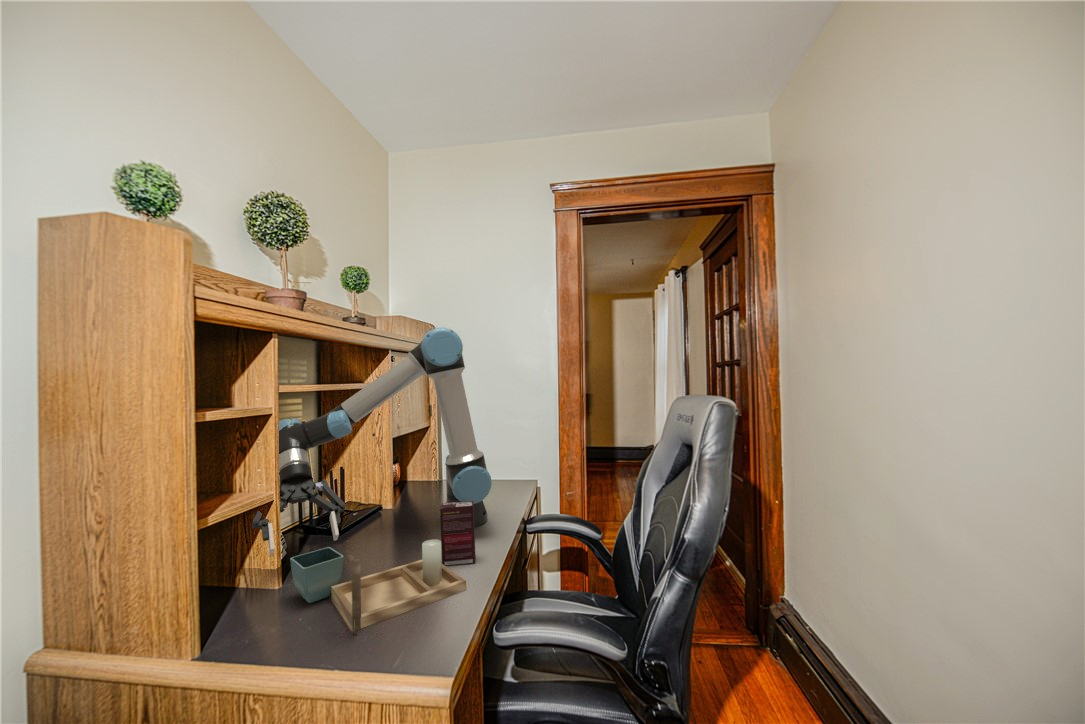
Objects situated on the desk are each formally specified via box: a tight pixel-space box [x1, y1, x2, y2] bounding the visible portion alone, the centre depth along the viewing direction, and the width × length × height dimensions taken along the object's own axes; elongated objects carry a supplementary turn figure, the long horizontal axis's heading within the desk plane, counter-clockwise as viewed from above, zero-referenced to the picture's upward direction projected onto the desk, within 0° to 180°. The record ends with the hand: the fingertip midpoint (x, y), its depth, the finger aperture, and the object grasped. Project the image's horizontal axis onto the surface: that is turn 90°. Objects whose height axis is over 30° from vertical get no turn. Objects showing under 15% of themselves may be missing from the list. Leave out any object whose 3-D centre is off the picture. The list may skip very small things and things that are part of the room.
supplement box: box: [439, 501, 477, 568], centre depth 115 cm, size 9×5×16 cm, turn 98°
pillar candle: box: [421, 539, 442, 586], centre depth 104 cm, size 4×4×9 cm
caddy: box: [330, 553, 467, 637], centre depth 99 cm, size 24×18×14 cm
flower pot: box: [289, 546, 344, 604], centre depth 101 cm, size 9×9×9 cm
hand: (305, 544), depth 105 cm, fingers open, 13 cm apart
